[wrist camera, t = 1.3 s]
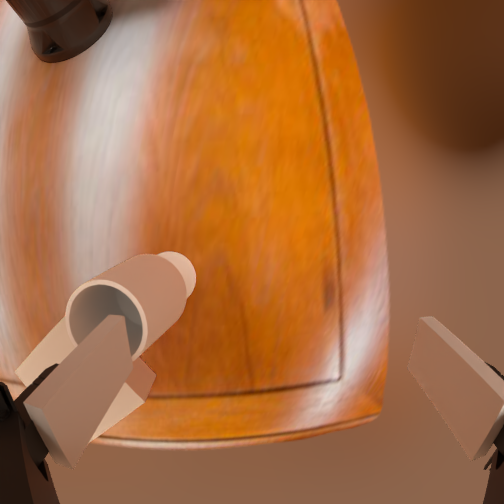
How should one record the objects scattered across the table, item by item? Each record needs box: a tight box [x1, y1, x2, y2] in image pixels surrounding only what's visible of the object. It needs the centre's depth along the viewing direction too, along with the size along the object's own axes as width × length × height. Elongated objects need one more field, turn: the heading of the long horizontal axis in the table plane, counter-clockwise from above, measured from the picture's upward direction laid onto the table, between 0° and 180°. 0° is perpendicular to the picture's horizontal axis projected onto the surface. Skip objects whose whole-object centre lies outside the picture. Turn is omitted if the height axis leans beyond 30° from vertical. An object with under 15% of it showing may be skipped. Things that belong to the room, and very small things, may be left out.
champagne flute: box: [65, 251, 196, 362], centre depth 26 cm, size 7×7×24 cm
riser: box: [15, 316, 156, 442], centre depth 33 cm, size 13×13×8 cm
